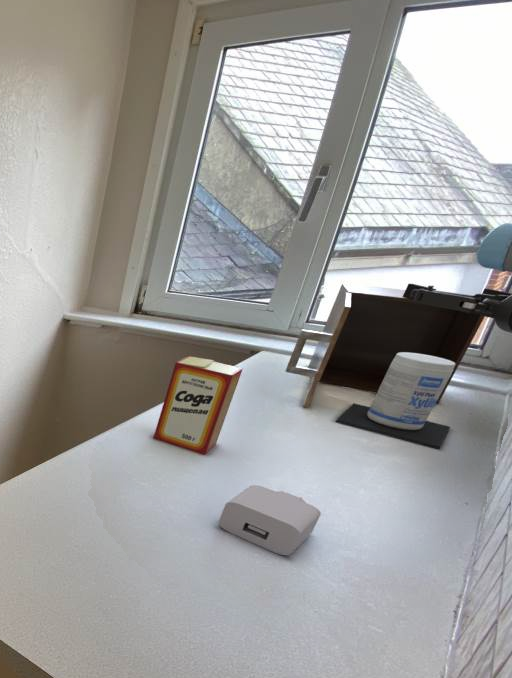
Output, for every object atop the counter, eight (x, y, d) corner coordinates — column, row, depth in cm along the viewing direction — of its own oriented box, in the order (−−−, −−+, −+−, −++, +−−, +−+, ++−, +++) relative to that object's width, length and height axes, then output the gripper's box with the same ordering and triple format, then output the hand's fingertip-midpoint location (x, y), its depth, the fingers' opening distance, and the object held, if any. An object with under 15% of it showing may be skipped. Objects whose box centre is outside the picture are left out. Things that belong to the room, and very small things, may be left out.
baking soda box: (215, 445, 107) (243, 366, 100) (204, 454, 102) (233, 373, 95) (165, 429, 113) (188, 354, 105) (153, 438, 108) (176, 360, 101)
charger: (323, 523, 82) (288, 558, 74) (255, 496, 89) (216, 526, 80) (336, 496, 80) (302, 529, 72) (266, 471, 87) (227, 499, 78)
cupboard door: (273, 400, 132) (312, 302, 121) (283, 376, 150) (317, 289, 139) (308, 407, 128) (350, 307, 118) (314, 382, 146) (351, 293, 136)
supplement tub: (405, 434, 114) (440, 366, 108) (355, 417, 122) (385, 353, 116) (431, 428, 118) (467, 363, 111) (381, 412, 125) (412, 350, 119)
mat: (439, 449, 109) (440, 446, 109) (335, 421, 121) (336, 419, 120) (448, 429, 120) (450, 426, 119) (352, 405, 131) (353, 403, 131)
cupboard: (438, 404, 134) (489, 307, 124) (311, 381, 147) (348, 291, 137) (423, 385, 148) (468, 296, 138) (308, 366, 160) (342, 283, 150)
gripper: (445, 330, 95) (368, 306, 114) (612, 343, 92) (505, 316, 111) (467, 286, 92) (384, 269, 111) (642, 297, 88) (526, 278, 107)
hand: (444, 292), depth 111 cm, fingers open, 13 cm apart
